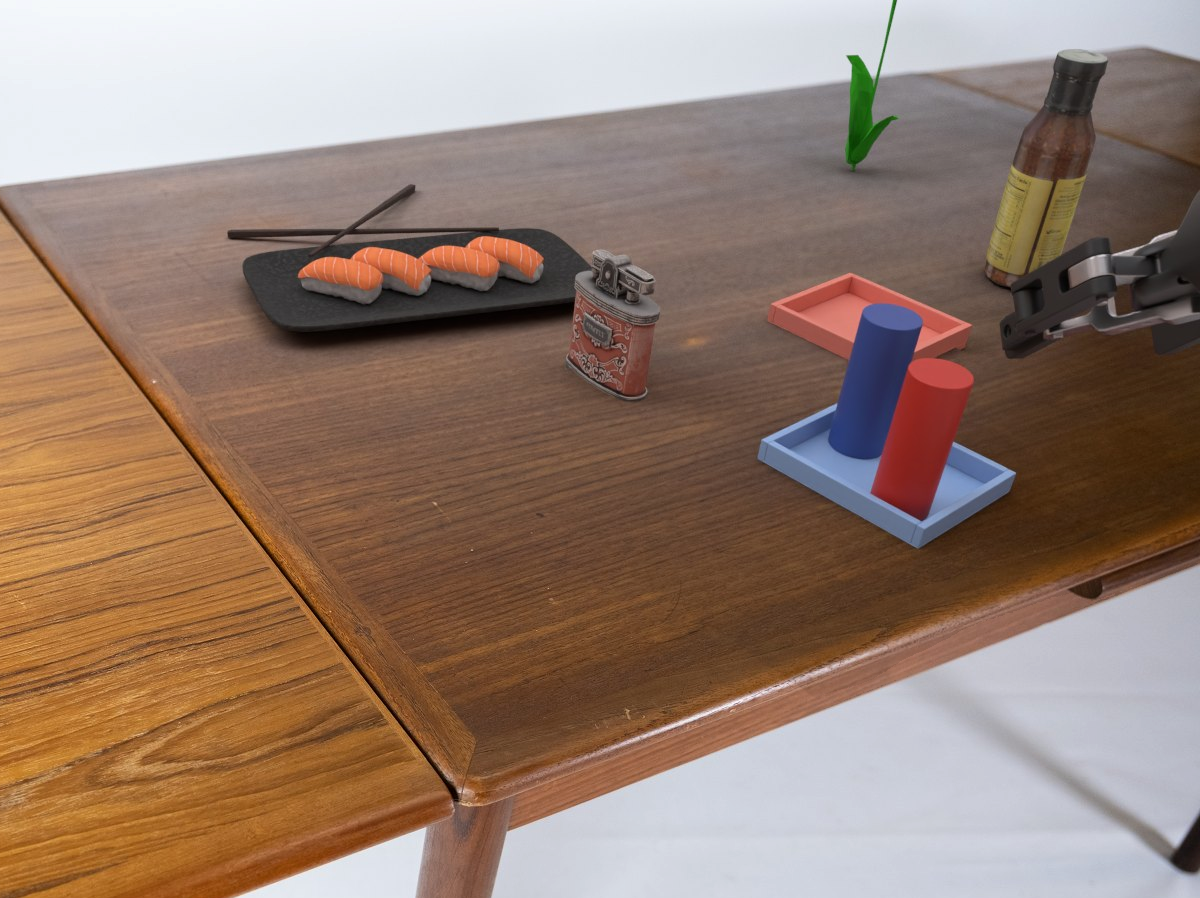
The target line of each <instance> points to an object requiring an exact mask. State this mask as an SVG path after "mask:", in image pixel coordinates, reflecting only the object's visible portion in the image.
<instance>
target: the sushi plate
mask: <svg viewBox="0 0 1200 898" xmlns="http://www.w3.org/2000/svg"><path fill="white" fill-rule="evenodd" d="M415 191H416V184H414V183H413V184H412V183H409V184H408V185H406V186H405V187H404V188H402V189H400V190H399V191H398V192H396V193H394V194H393V195H392V196H391V197H389V198H388V199H386V200H384V201H383V202H382V203H381V204H379V205H378V206H376V207H374V209H372V210H370V211H369V212H368V213H367V214H365V215H363V217H361V218H360V219H358V220H357V221H355V222H354V223H352V224H351V225H349V226H348V227H346V228H262V229H261V228H259V229H258V228H256V229H255V228H251V229H250V228H249V229H246V228H245V229H228V230H227V232H226V234H227V238H229V239H248V238H249V239H251V238H252V239H253V238H286V237H287V238H288V237H291V238H293V237H324V236H325V237H326V236H333V237H331V238H330V239H328V240H327V241H326V242H324V243H322V244H321V245H320V246H309V247H299V248H289V249H288V248H287V249H281V250H273V251H267V252H266V251H265V252H261V253H257V254H253V255H251V256H248V257H246V258H245V259H244V260H243V262H242V265H241V266H242V267H241V268H242V273H243V277H244V279H245V281H246V284H247V285H248V288H249V289H250V291H251V294H253V296H254V298H255V300H256V302H257V303H258V305H259V307H260V309H261V310H262V312H263V313H264V315H265V316H266V317H267V319H269V321H271V323H273V325H275V326H277V327H278V328H280V329H282V330H285V331H290V332H300V333H301V332H303V333H305V332H306V333H307V332H323V331H324V332H325V331H336V330H345V329H355V328H365V327H373V326H382V325H389V324H398V323H407V322H415V321H425V320H433V319H442V318H450V317H458V316H459V317H460V316H469V315H476V314H484V313H493V312H502V311H509V310H519V309H527V308H528V309H529V308H536V307H545V306H553V305H562V304H569V303H575V299H576V289H575V287H574V285H575V277H576V275H577V274H578V273H580V272H584V271H592V266H591V263H589V262H588V261H587V260H586V259H585V258H583V256H582V255H580V254H579V253H578V251H576V250H575V249H574V248H573V247H572V246H570V244H568V242H566V241H565V240H564V239H562V238H561V237H560V236H558V235H557V234H555V233H553V232H551V231H549V230H545V229H541V228H533V227H532V228H531V227H526V228H525V227H522V228H520V227H518V228H504V229H500V227H499V226H498V227H497V226H493V227H492V226H491V227H490V226H486V227H483V226H482V227H425V228H424V227H415V228H414V227H409V228H408V227H406V228H405V227H404V228H359V227H360V226H362V225H363V224H365V223H366V222H368V221H369V220H372V219H373V218H375V217H376V216H378V215H380V214H381V213H383V212H384V211H386V210H387V209H389V208H391V207H393V206H394V205H396V204H397V203H398V202H401V201H402V200H403V199H405V198H406V197H408V196H410V195H411V194H413V193H414V192H415ZM434 233H435V234H436V233H439V234H437V235H427V236H417V237H416V236H415V237H406V238H394V239H384V240H373V241H363V242H353V243H352V242H351V243H341V244H334V243H335V242H337V241H339V240H340V239H342V238H343V237H345V236H351V235H352V236H353V235H356V236H357V235H388V234H390V235H391V234H392V235H393V234H394V235H395V234H434ZM440 233H447V234H440ZM448 233H449V234H448Z"/></svg>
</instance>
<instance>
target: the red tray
mask: <svg viewBox="0 0 1200 898" xmlns="http://www.w3.org/2000/svg"><path fill="white" fill-rule="evenodd" d="M879 303H885V304H894V305H898V306H902V307H905V308H908V309H910V310H912V311H914V312H916V313H917V314H918V315H920V316H921V318H922V320H923V325H922V328H921V332H920V335H919V338H918V342H917V345H916V348H915V352H914V355H913V358H912V361H911V362H913V361H914V360H917V359H922V358H937V357H939V356H941V355H943V354H945V353H947V352H950V351H951V350H953V349H958V350H960V351H961V350H963V349H965V348H966V345H967V343H968V339H969V337H970V335H971V331H972V327H973V324H971V323H969V322H966V321H964V320H962V319H959V318H958V317H955V316H953V315H950V314H948V313H946V312H943V311H941V310H938V309H936V308H935V307H932V306H929V305H927V304H925V303H923V302H920V301H918V300H916V299H914V298H911V297H908V296H907V295H904V294H901V293H899V292H897V291H895V290H892V289H890V288H888V287H886V286H883V285H881V284H878V283H876V282H873V281H872V280H869V279H867V278H865V277H862V276H860V275H858V274H855V273H853V272H849V273H846V274H844V275H840V276H838V277H834V278H833V279H830V280H828V281H825V282H823V283H820V284H818V285H815V286H813V287H810V288H807V289H805V290H802V291H800V292H796V293H795V294H791V295H789V296H787V297H785V298H781V299H779V300H776V301H774V302H771V303H770V306H769V310H768V315H767V319H766V320H767V322H769V323H771V324H773V325H775V326H778V327H779V328H781V329H783V330H786V331H788V332H790V333H792V334H793V335H795V336H798V337H800V338H802V339H803V340H807V341H808V342H811V343H813V344H815V345H817V346H819V347H821V348H823V349H825V350H827V351H830V352H831V353H833V354H836V355H838V356H840V357H842V358H843V359H846V360H848V361H849V359H850V355H851V351H852V348H853V344H854V340H855V336H856V333H857V329H858V325H859V322H860V318H861V314H862V311H863V309H864V308H865V307H866V306H868V305H872V304H879Z"/></svg>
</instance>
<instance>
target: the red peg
mask: <svg viewBox="0 0 1200 898" xmlns="http://www.w3.org/2000/svg"><path fill="white" fill-rule="evenodd" d="M974 382H975V378H974V375H973V373H972V372H971V371H969V370H968V369H967V368H966V367H964V366H963V365H960V364H958V363H956V362H953V361H950V360H947V359H942V358H937V357H935V358H922V359H917V360H914V361H913V362H911V363H910V364H909V366H908V369H907V372H906V376H905V379H904V382H903V386H902V389H901V392H900V396H899V399H898V402H897V406H896V409H895V412H894V416H893V419H892V422H891V425H890V429H889V432H888V435H887V439H886V442H885V445H884V449H883V452H882V455H881V459H880V462H879V465H878V469H877V472H876V475H875V478H874V482H873V485H872V488H871V492H870V494H872V495H874V496H876V497H877V498H879V499H881V500H883V501H885V502H887V503H888V504H890V505H892V506H894V507H896V508H898V509H899V510H901V511H903V512H905V513H907V514H909V515H910V516H912V517H914V518H916V519H918V520H920V521H922V520H924V519H925V518H926V517H927V516H928V515H929V512H930V509H931V506H932V504H933V501H934V498H935V495H936V492H937V489H938V486H939V483H940V480H941V477H942V474H943V471H944V468H945V465H946V462H947V459H948V456H949V454H950V451H951V448H952V445H953V442H955V438H956V435H957V433H958V430H959V427H960V424H961V421H962V418H963V416H964V412H965V409H966V407H967V403H968V401H969V398H970V395H971V391H972V388H973V386H974Z"/></svg>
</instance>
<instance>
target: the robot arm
mask: <svg viewBox="0 0 1200 898" xmlns="http://www.w3.org/2000/svg"><path fill="white" fill-rule="evenodd" d="M1123 285H1127V287H1128V294H1129V302H1130V307H1131V308H1132V310H1133V312H1129V313H1125V314H1122V315H1117V309H1116V302H1115V301H1116V300H1115V297H1116V296H1117V295H1118V287H1119V286H1123ZM1010 292H1011V296H1012V299H1013V307H1014V311H1012V312H1010V313H1009V314H1008V315H1005V316H1004V318H1002V319H1001V320H1000V322H999V331H1000V332H999V333H1000V340H1001V348H1002V351H1004V355H1005V357H1006V358H1007V359H1009V360H1013V359H1014V360H1018V359H1025V358H1027V357H1029V356H1032V355H1033V354H1035V353H1037V352H1038V351H1040V350H1042V349H1045V348H1046V347H1048V346H1050V345H1052V344H1054V343H1056V342H1059V341H1060V340H1062V339H1064V338H1066V337H1070V336H1073V335H1077V334H1081V333H1085V332H1089V331H1093V330H1095V331H1097V332H1099V333H1100V334H1103V335H1104V336H1107V337H1108V336H1109V337H1111V336H1115V335H1120V334H1124V333H1127V332H1132V331H1135V330H1139V329H1144V328H1149V327H1150V331H1151V338H1152V345H1153V346H1152V347H1153V350H1154V352H1155V354H1156V355H1159V356H1163V355H1164V356H1165V355H1174V354H1177V353H1179V352H1181V351H1184V350H1186V349H1188V348H1191V347H1193V346H1196V345H1197V344H1200V189H1199V190H1198V192H1197V193H1196V194H1195V196H1194V197H1193V199H1192V201H1191V203H1190V205H1189V207H1188V209H1187V211H1186V214H1185V215H1184V218H1183V219H1182V221H1181V223H1180V224H1179V226H1178V228H1177V229H1175V230H1172V231H1169V232H1165V233H1162V234H1159V235H1156V236H1154V237H1152V238H1151V240H1150V241H1149V242H1148V243H1145V244H1143V245H1140V246H1136V247H1132V248H1129V249H1126V250H1122V251H1119V252H1115V253H1113V250H1112V243H1111V238H1110V237H1099V236H1098V237H1093V238H1090V239H1088V240H1086V241H1084V242H1082V243H1079V244H1078V245H1076V246H1075V247H1073V248H1071V249H1069V250H1068V251H1066V252H1064V253H1063V254H1061V256H1059V257H1057V258H1055V259H1054V260H1052V261H1050V262H1048V263H1047V264H1045V265H1043V266H1041V267H1039V268H1038V269H1036V270H1034V271H1032V272H1031V273H1029V274H1027V275H1025V276H1024V277H1022V278H1020V279H1018V280H1016V281H1015V282H1013V283H1012V284H1011V288H1010ZM1089 309H1090V310H1089ZM1088 310H1089V312H1088V313H1087V314H1084V315H1081V316H1077V315H1079V314H1081V313H1083V312H1086V311H1088ZM1076 316H1077V317H1076Z"/></svg>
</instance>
